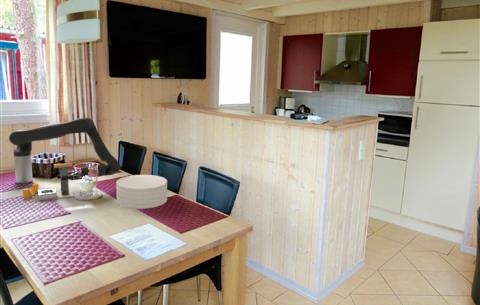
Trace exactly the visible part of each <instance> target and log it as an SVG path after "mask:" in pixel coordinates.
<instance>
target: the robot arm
mask: <svg viewBox="0 0 480 305" xmlns="http://www.w3.org/2000/svg"><path fill="white" fill-rule="evenodd" d="M70 134H71V135H72V134H86V135H87V136H88V137H89V138H90V140H91V142H92V146H93V150H94V151H95V153H96V155H97V156H98V158H99V160H101V162H103V163H104V162H105V163H106V165H105V164H97V165H98V171H97V177H102V176H112V175H114V174H116V173H118V172H119V171H120V170H121V167H122V166H121V164H120V161H119V160H118V159H116V157H115V156H113V155H112V153H111V152H110V151H109V149H108V147H107V146H106V145H105V143H104V141H103V139H102V137H101V136H100V133H99V131H98V129H97V127H96V124H95V122H94V121H93V119H91V118H90V117H88V116H87V117H80V118H77V119H73V120H70V121H67V122H55V123H50V124H45V125H40V126H38V127H35V128H31V129H19V130H15V131H13V132H11V133H10V134H9V136H8V138H9V139H8V140H9V142H10V144H12V145H15V146H16V148H15V150H14V151H13V159H14V160H13V161H14V162H13V163H14V172H15V182H16V183H18V184H25V183H31V182H33V165H32V149H33V147H32V146H33V142H39V141H50V140H53V139H59V138H63V137H65V136H67V135H70ZM89 166H90V165H88V166H82V167H79V168H81V170H82V172H81V173H79V172H77V171H78V170H71V169H70V170H68V176H62V177H61V180H62V181H63V180H68V181H69V180H70V181H79V180H81V179H82V177H83V176H85V175H88V172H89V170H88V168H89ZM97 177H96V178H97ZM56 179H57V180H60V174H57V175H56Z"/></svg>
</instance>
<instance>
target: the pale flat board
mask: <svg viewBox="0 0 480 305" xmlns="http://www.w3.org/2000/svg"><path fill="white" fill-rule="evenodd" d="M71 192H72V193H73V195H74V197H66V198H58V196H57V199H51V200H42V201H39V198H38V195H33V196H31V201H32V203H40V202H46V201H55V200H63V199H71V198H73V199H74V198H76V196H75V194H74V191H71Z"/></svg>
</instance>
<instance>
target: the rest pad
mask: <svg viewBox="0 0 480 305" xmlns="http://www.w3.org/2000/svg"><path fill="white" fill-rule="evenodd" d="M72 192H73V191H69V194H68V195H61V192H56V193H57V196H58V198H65V199H67V198H66V197H73V198H75V197H74V196H75V194H74V192H73V193H72ZM73 194H74V195H73Z"/></svg>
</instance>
